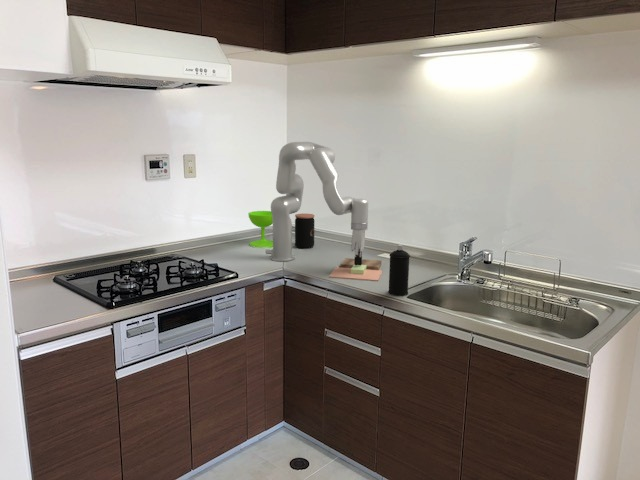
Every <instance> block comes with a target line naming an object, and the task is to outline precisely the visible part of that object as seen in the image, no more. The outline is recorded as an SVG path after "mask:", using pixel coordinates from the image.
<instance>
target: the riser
mask: <svg viewBox="0 0 640 480" xmlns="http://www.w3.org/2000/svg"><path fill="white" fill-rule="evenodd" d="M354 262H355V258H349V257H347V258H346V257H345V258H344V259H343V260H342V262H341V263H340V267H343V268H352V266H353V265H354ZM362 265H367V266H366V269H370V270H381V267H382V260H378V259H377V260H375V259H365V258H362Z"/></svg>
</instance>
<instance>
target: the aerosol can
mask: <svg viewBox="0 0 640 480" xmlns="http://www.w3.org/2000/svg"><path fill="white" fill-rule="evenodd" d="M403 249H404V247H403V244H397V249H396V250H395V249H394V250H393V251H392V252H391V253H390V254H389V272H388V273H389V275H388V290H387V293H388V294H389V295H390V296H395V297H404V296H408V295H409V272H410V257H411V255H410V254H409V253H408V251H406V250H403Z"/></svg>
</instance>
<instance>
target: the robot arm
mask: <svg viewBox="0 0 640 480" xmlns="http://www.w3.org/2000/svg"><path fill="white" fill-rule="evenodd" d="M301 160H309V162H310V163H311V165H312V167H313V169H314V170H315V173H316V174H317V176H318V178H319V180H320V181H321V183H322V184H321V185H322V194H323V198H324V201H325V202H326V204H327V206H328V208H329V210H330V211H331V212H332V213H333V214H334V215H337V216H343V215H347V214H350V213H351V214H350V216H351V219H350V220H351V221H350V230H352V233H351V246H350V251H351V252H354V259H355V262H354V265H360V266H361V265H362V259H363V256H362V255H363V250H364V248H365V244H366V242H365V241H366V231H368V226H369V225H368V223H369V221H368V219H369V218H368V217H369V201H368V200H367V199H366V198H355V197H351V196H345V197H344V196H343V197H341V196H340V194H339V193H338V190H337V187H336V184H337V180H338V178H339V172H338V171H337V170H336V167H335V166H334V164H333V163H335V160H336V154H335V152H334V151H333V149H331V148H330V147H328V146H324V145H321V144H318V143H314V142H312V141H294V142H288V143H286V144H284V145H283V146H282V147H281V149H280V151H279V155H278V169H277V174H276V175H277V176H276V182H275V189H276V191H277V193H278V194H280V195H282V196H278V197H275V198H274V199H272V201H271V202H270V203H271V204H270V211H271V213H272V220H273V224H272V241H273V247H272V249H268V248H267V249H265V254H266V255H270V256H269V259H270V260H271V261H275V262H289V261H294V260H295V258H296V256H295V255H294V254H293V242H292V241H293V227H292V226H293V225H292V219H291V217H290V215H291V214H295V213H297V212H298V211H300V209H301V206H302V203H303V194H304V188H305V187H304V186H305V185H304V179H303V178H302V176H301V175H299V174H298V173H296V170H297V169H296V167H297V166H296V165H297V164H296V161H301Z"/></svg>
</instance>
